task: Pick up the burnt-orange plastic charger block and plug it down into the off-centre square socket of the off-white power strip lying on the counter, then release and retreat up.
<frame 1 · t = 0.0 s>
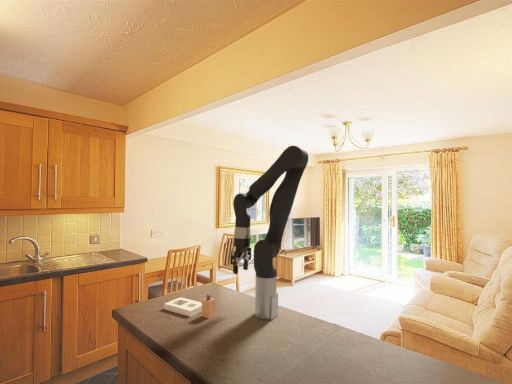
hand: (240, 271, 129), 17 cm above the counter, tool pointing down, fingers open, 8 cm apart
charger: (208, 315, 120), on the counter
power strip: (185, 309, 127), on the counter
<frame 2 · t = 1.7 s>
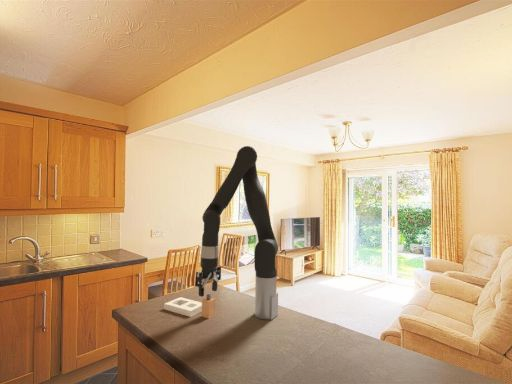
hand: (208, 293, 121), 9 cm above the counter, tool pointing down, fingers open, 8 cm apart
nothing on the counter moved.
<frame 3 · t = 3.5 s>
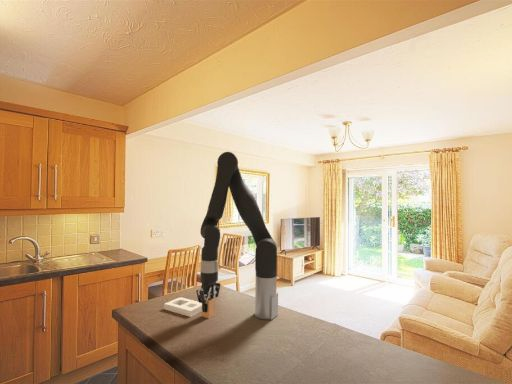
hand: (208, 309, 120), 2 cm above the counter, tool pointing down, fingers closed on charger, 4 cm apart
charger: (208, 315, 120), on the counter, touching gripper
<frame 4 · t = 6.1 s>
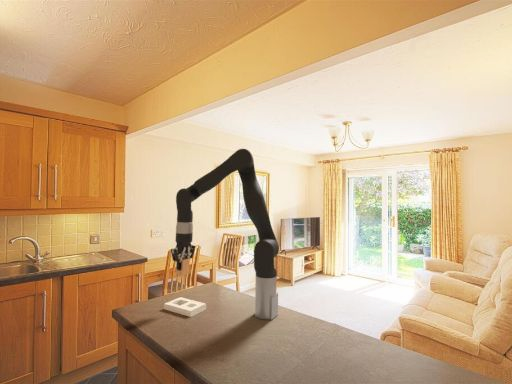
hand: (182, 269, 128), 18 cm above the counter, tool pointing down, fingers closed on charger, 4 cm apart
charger: (182, 274, 128), point 15 cm above the counter, touching gripper
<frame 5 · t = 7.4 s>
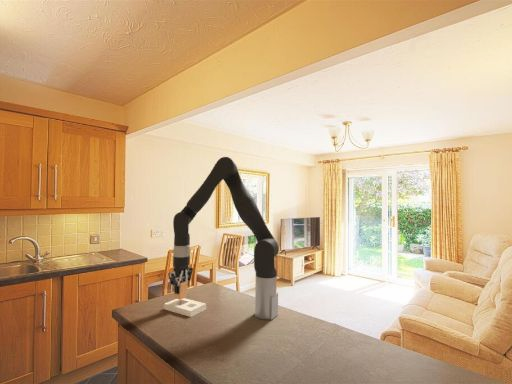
hand: (180, 292, 129), 7 cm above the counter, tool pointing down, fingers closed on charger, 4 cm apart
charger: (180, 297, 129), point 5 cm above the counter, touching gripper
when the fingers open (4 cm above the counter, at t = 8.8 s): charger drops 1 cm, resting in power strip.
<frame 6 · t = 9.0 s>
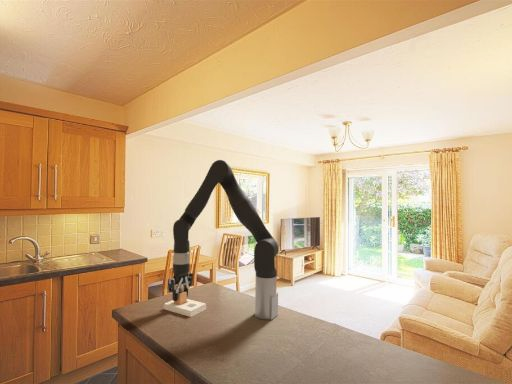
hand: (180, 298, 129), 4 cm above the counter, tool pointing down, fingers open, 6 cm apart
charger: (180, 307, 128), resting in power strip
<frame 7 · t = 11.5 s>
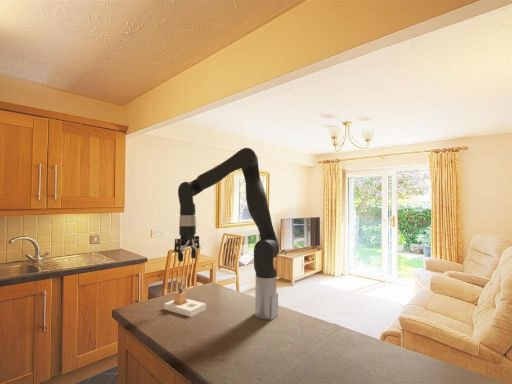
hand: (187, 259, 130), 22 cm above the counter, tool pointing down, fingers open, 8 cm apart
nothing on the counter moved.
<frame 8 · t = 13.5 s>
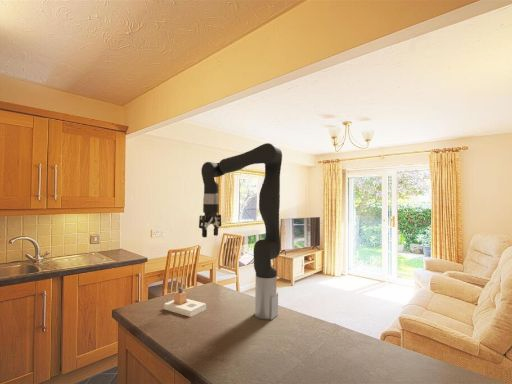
hand: (210, 236, 136), 32 cm above the counter, tool pointing down, fingers open, 8 cm apart
nothing on the counter moved.
at the end: charger 0.1 cm from the target spot on the power strip, point 0.0 cm above the power strip's base; charger tilted 0°; the gripper is holding nothing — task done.
